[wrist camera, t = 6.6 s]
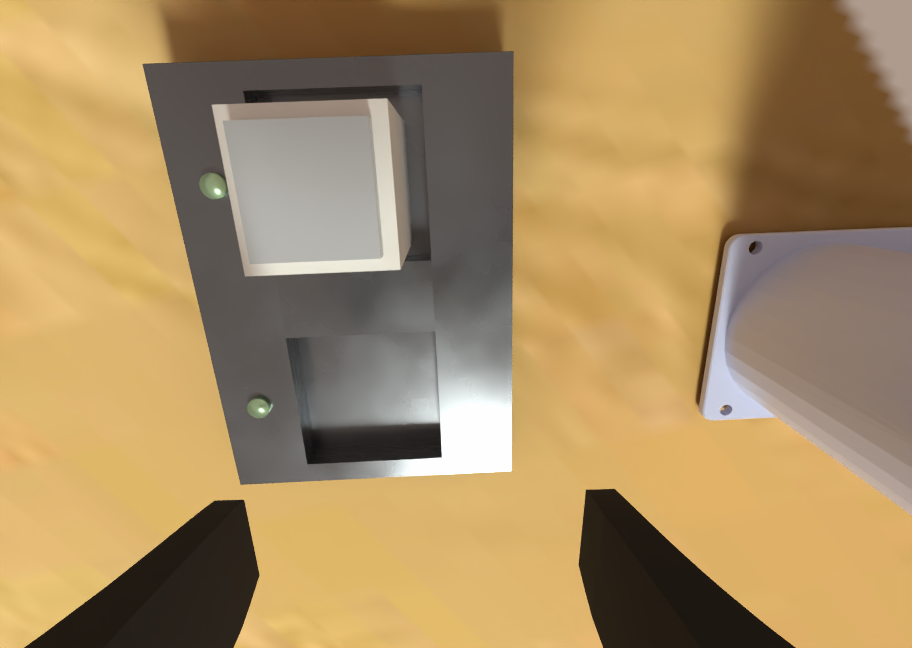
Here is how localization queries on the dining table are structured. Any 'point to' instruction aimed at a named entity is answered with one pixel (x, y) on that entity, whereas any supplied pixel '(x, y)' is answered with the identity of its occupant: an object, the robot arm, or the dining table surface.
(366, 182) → the beige rectangular block
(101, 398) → the dining table surface
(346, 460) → the panel
